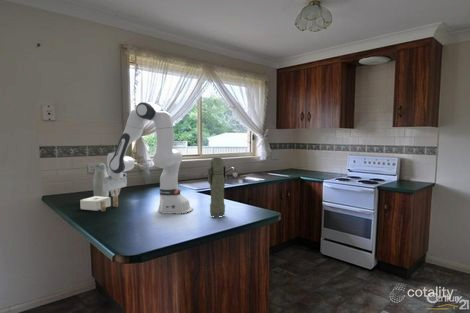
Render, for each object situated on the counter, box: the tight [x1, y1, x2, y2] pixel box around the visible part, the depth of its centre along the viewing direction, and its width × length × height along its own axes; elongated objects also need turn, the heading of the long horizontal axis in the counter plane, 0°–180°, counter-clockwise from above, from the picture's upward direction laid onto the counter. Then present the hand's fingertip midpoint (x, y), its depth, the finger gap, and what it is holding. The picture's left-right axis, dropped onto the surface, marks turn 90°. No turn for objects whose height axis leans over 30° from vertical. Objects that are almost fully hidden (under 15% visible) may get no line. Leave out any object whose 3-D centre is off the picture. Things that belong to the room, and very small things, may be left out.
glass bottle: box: [92, 162, 110, 197], centre depth 216 cm, size 10×10×28 cm
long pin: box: [112, 189, 119, 208], centre depth 198 cm, size 3×3×14 cm
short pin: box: [100, 201, 107, 212], centre depth 187 cm, size 3×3×6 cm
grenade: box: [207, 157, 227, 217], centre depth 174 cm, size 9×12×35 cm
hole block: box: [79, 195, 112, 211], centre depth 196 cm, size 13×13×6 cm
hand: (115, 195), depth 198 cm, fingers closed on long pin, 3 cm apart
